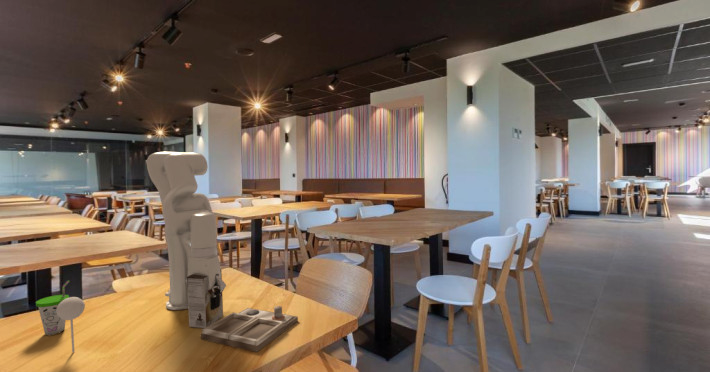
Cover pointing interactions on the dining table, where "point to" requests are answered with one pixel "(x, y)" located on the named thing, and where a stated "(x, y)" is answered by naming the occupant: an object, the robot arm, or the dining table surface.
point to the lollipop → (70, 311)
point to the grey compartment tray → (249, 328)
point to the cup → (52, 312)
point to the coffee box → (201, 302)
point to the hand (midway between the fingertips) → (206, 305)
